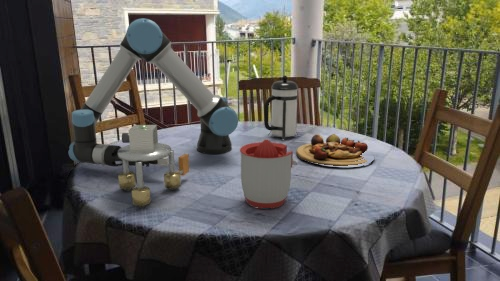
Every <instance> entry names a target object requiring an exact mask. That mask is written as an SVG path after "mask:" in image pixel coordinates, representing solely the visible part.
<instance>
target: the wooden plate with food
mask: <svg viewBox="0 0 500 281" xmlns="http://www.w3.org/2000/svg"><path fill="white" fill-rule="evenodd" d="M324 142H326V143H324ZM340 143H341V144H340ZM354 147H355V148H354ZM368 147H369V146H368V144H367V143H366V142H361V141H360V140H357V141H355V140H354V139H349V137H344V138H342V139H341V138H340V137H339V136H338V135H336V133H332V134H331V135H328V136H327V137H326V140H325V141H324V139H323V136H321V135H320V134H319V133H316V134H314V135H312V137H311V140H310V143H306V144H303V145H300V146H299V147H298V148H297V149H296V151H295V152H296V155H298V156H297V158H299V157H300V158H301V159H300V158H299V159H300V160H302V159H303V160H306V161H309V162H313V163H318V164H324V165H333V166H348V165H358V164H362V163H365V162H367V160H365V159H364V160H361V159H363V158H364V157H362V156H360V155H362V153H364V152H365V151H367V150H369V149H368ZM303 160H302V161H303ZM358 160H361V161H358ZM355 161H356V162H355Z"/></svg>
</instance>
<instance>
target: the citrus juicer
mask: <svg viewBox="0 0 500 281" xmlns="http://www.w3.org/2000/svg"><path fill="white" fill-rule="evenodd" d="M239 152H240V182H241V186H242V187H241V188H242V191H243V196H244V198H245V201H246V203H247V204H248V205H249V204H250V205H249V206H251V207H253V206H254V207H253V208H255V207H258V208H257V209H262V208H271V209H276V208H279V207H282V206H283V205H284V204H285V202H286V200H287V198H288V193H289V190H290V187H291V180H292V179H291V178H292V168H293V166H298V162H297V161H295V160H294V158H293V152H294V150H292V151H291V150H290V151H288V146H287V145H286V144H283V143H280V142H279V143H278V142H271V141H270V140H269V139H264V140H263V141H261V142H252V143H247V144H244V145H242V146H241V147H240V149H239ZM283 203H284V204H283ZM282 204H283V205H282ZM275 207H276V208H275Z"/></svg>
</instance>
